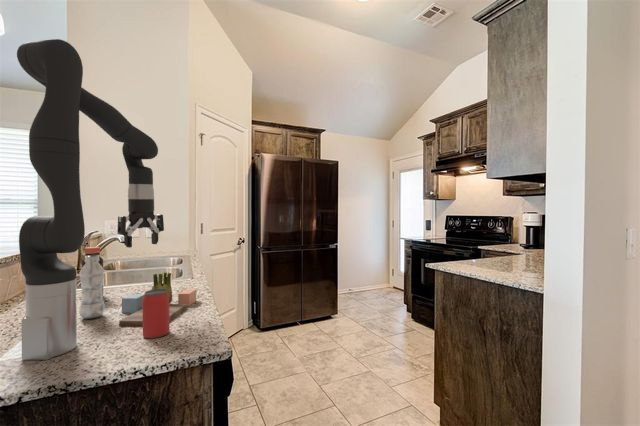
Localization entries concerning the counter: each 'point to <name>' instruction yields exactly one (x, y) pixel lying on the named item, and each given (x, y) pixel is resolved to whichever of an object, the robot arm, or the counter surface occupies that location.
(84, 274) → the plastic bottle
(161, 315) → the beer can
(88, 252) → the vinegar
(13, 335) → the counter surface
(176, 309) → the walnut board
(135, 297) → the smoky blue cube
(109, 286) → the counter surface
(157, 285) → the fennel bulb
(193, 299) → the terracotta block
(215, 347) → the counter surface
